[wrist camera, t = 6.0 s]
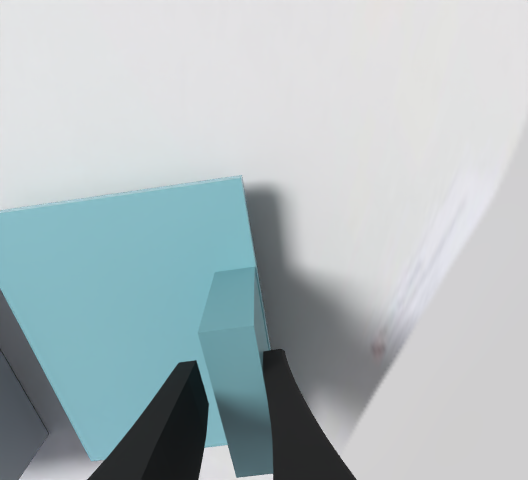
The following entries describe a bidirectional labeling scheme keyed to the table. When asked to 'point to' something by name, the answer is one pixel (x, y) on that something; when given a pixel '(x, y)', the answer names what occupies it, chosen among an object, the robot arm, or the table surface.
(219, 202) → the lid
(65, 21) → the table surface
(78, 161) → the table surface
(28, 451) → the parts tub
